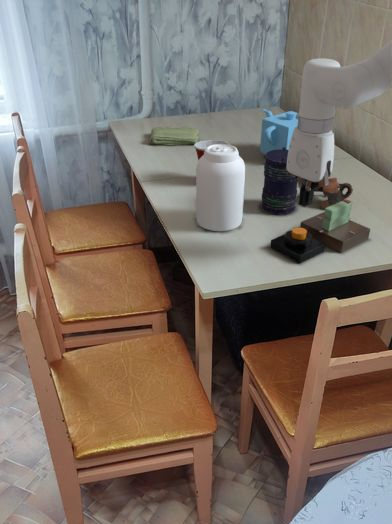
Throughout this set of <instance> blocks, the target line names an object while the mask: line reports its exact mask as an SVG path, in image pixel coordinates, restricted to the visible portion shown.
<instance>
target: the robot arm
mask: <svg viewBox="0 0 392 524" xmlns="http://www.w3.org/2000/svg"><path fill="white" fill-rule="evenodd" d="M300 87H301V88H300V97H299V106H298V112H296V113H297V114H296V119H297V120H298V125H297V127H295V128H294V131H293V134H292V137H291V141H290V145H289V151H288V157H287V170H288V171H289V172H290V174H291V175H293V176H294V177H296V180H297V182H298V183H297V188H298V189H299V194H298V202H297V203H298V206H301V207H303V208H305V207H308V206H310V205H312V204H313V202H314V196H315V192H314V189H316V188H317V187H318V186H320V187H324V186H327V185H328V184H329V181H328V179H329V178H331V176H332V172H333V167H334V157H335V133H334V132H333V128H334V121H335V114H336V108H338V109H342V110H347V109H352V108H356V107H357V106H359V105H361V104H364V103H366V102H368V101H371V100H374V99H376V98H377V97H379V96H380V95H383V94H384V93H385V92H386V91H388V90H390V89H391V88H392V39H390V40H389V41H388V42H387V43H385V44H384V45H383V46H382V47H380V49H378V50H377V51H376V52H374V53H372V55H370V56H369V57H368V58H366V59H364V60H361V61H358V62H355V63H352V64H349V65H344V66H341V64H340V63H339V61H337V60H335V59H332V58H325V57H324V58H312V59H309V60H307V61H306V62H305V63H304V65H303V69H302V79H301V86H300Z"/></svg>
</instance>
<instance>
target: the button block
mask: <svg viewBox="0 0 392 524" xmlns="http://www.w3.org/2000/svg"><path fill="white" fill-rule="evenodd" d="M291 235H292V229H290V230H288V231H286V233H284V234H282V235H279V236H277V237H275V238H272V239H271V240H270V245H269V248H270V249H272V250H274V251H275V252H277V253H279V254H281V255H283V256H285V257H286V258H289V259H290V260H292V261H294V262H296V263H298V264H302V263H303V262H307V261H309V260H310V259H313V258H315V257H316V256H318V255H321V254H323V253H324V252H325V248H326V245H325V244H324V243H322V242H320V241H318V240H316V239H314V238H312V235H311V233H309V232H307V234H306V238H305V239H303V240H298V239H294V238H292V237H291Z"/></svg>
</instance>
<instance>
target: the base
mask: <svg viewBox="0 0 392 524" xmlns="http://www.w3.org/2000/svg"><path fill="white" fill-rule="evenodd" d="M324 214H325V211H323V212H321V213H318V214H316V215H313V216H312V217H309V218H307V219H304V220H303V221H300V224H299V227H300V228H304V229H306V230H307V232H309V233H311V235H312V238H314V239H316V240H318V241H320V242H322V243H324V244H325V247H329V248H331V249H333V250H335V251H337V252H339V253H343V252H346V251H347V250H350V249H351V248H354V247H356V246H358V245H359V244H362V243H364V242H366V241H368V240H369V237H370V234H371V228H369V227H367V226H365V225H362V224H360V223H358V222H355V221H353V220H352V218H351V217H349V221H348V223H345V224H343V225H341V226H339V227H337V228H335V229H332V230H330V231H327V230H325V229H323V228H322V226H323V220H324Z"/></svg>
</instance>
